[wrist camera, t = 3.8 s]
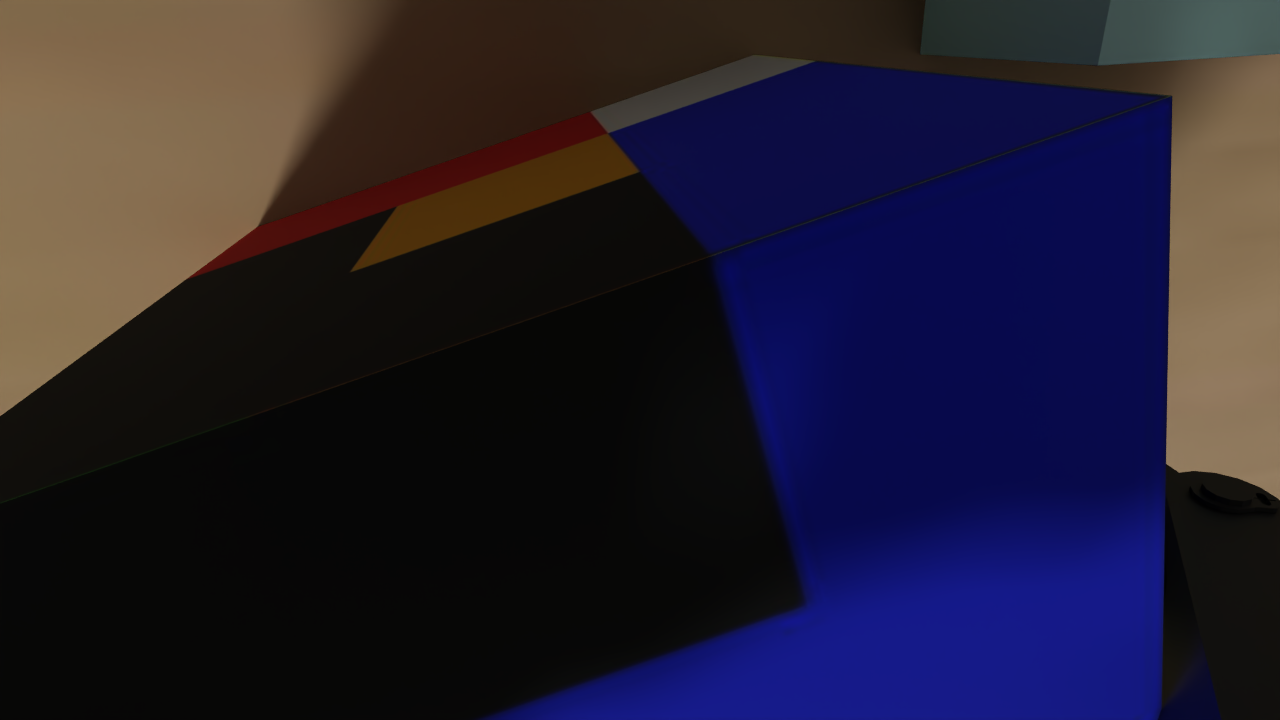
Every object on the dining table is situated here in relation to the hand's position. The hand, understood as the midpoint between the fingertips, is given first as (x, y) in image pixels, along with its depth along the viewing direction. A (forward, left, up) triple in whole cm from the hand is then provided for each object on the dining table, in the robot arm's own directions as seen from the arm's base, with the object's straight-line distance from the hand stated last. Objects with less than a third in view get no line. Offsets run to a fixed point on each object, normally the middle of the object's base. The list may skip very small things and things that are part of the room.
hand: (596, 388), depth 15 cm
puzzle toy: (0, 0, -1) cm, 1 cm away
